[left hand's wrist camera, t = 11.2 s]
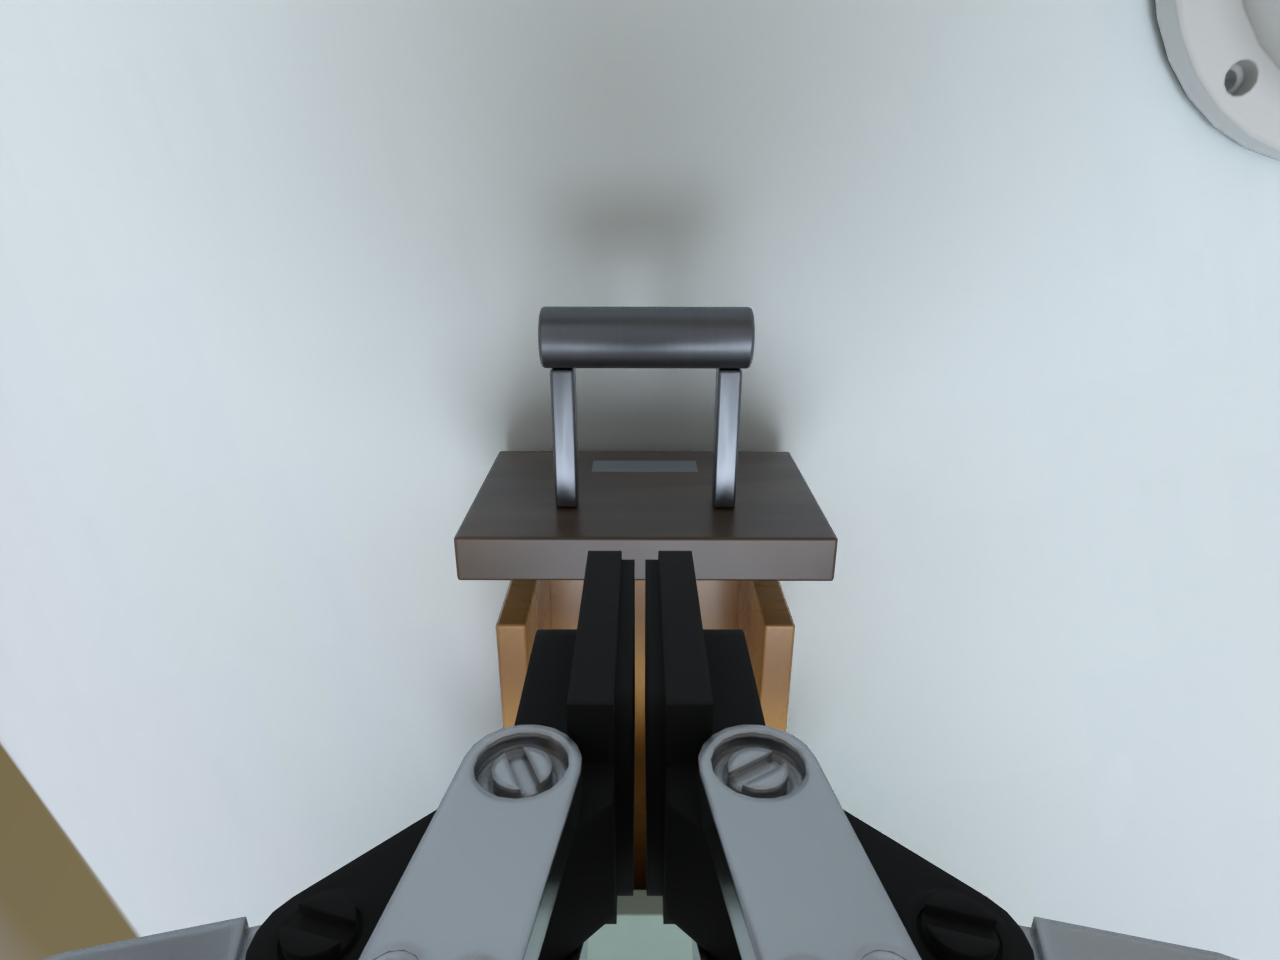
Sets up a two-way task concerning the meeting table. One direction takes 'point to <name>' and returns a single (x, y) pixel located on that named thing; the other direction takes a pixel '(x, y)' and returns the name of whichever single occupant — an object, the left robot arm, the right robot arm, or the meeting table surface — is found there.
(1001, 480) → the meeting table surface
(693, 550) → the drawer
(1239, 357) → the meeting table surface
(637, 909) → the cabinet
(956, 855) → the meeting table surface
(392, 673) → the meeting table surface
